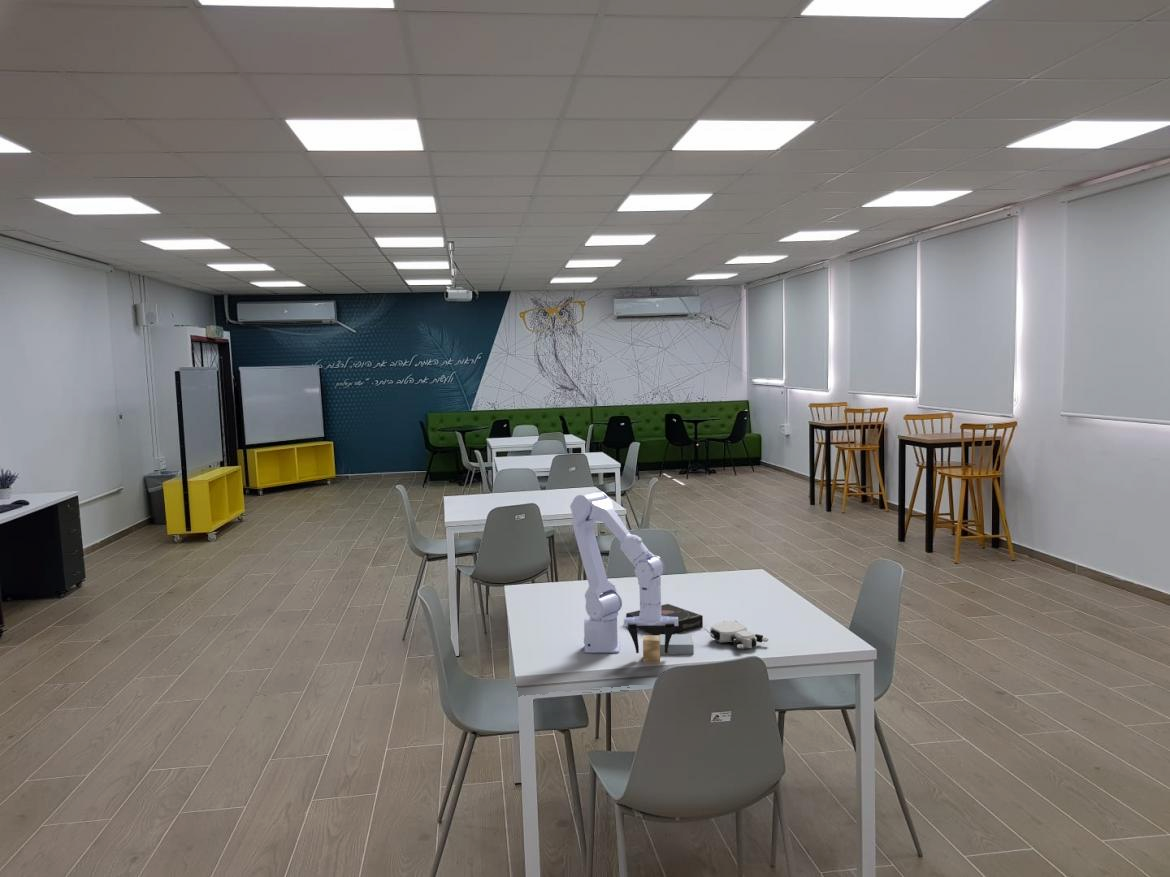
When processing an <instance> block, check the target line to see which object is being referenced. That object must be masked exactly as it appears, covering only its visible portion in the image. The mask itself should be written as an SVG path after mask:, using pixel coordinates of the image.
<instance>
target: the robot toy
mask: <svg viewBox="0 0 1170 877" xmlns="http://www.w3.org/2000/svg"><path fill="white" fill-rule="evenodd" d="M703 629H704V631H706V632H707V633H708V634H709V635H710V637H711V638H712V639H714V640H716V641H717V642H718V643H721V644H724V643H730V642H731V643H733V645H734V647H735V648H736V649H741V650H743V649H744V650H746V649H752V648H755V647H757V642H758V643H763V642H764V643H767V642H768V641H769V638H768V637H764V635H763V634H762V635H761V634H757V633H756V634H754V632H750V631H749V630H748V629H747V627H746V625H744V624H742V623H739V621H738V620H734V621H730V620H729V621H722V622H718V623H716V624H714V625H712V626H711V627H710V629H709V630H708V629H707V628H706V627H704V628H703Z"/></svg>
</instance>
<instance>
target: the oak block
mask: <svg viewBox="0 0 1170 877" xmlns="http://www.w3.org/2000/svg"><path fill="white" fill-rule="evenodd" d="M642 654H643V655H642V661H643V663H645V664H647V663H648V664H650V663H652V664H653V663H655V664H656V663H657V664H658V663H661V651H660V635H652V634H648V635H646V634H645V635H642Z"/></svg>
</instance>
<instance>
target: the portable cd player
mask: <svg viewBox="0 0 1170 877" xmlns="http://www.w3.org/2000/svg"><path fill="white" fill-rule="evenodd" d="M625 614H626V615H625V617H636V616H640V609H638V610H635V611H630V612H626V613H625ZM661 616H668V617H678V626H674V632H673V634H683V633H685V632H690V631H692V630H696V629H701V628H703V627H704V623H703V622H704V621H703V620H704V619H703V618H704V617H703V615H702V614H698V613H696V612H693V611H690V610H687V609H685V608H681V607H678V606H675V605H673V604H670V603H666V604H661ZM637 629H638V630H640V631H642V632H643V633H647V634H648V635H660V634H665V625H653V626H637Z"/></svg>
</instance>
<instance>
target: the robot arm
mask: <svg viewBox="0 0 1170 877" xmlns="http://www.w3.org/2000/svg"><path fill="white" fill-rule="evenodd" d="M569 506H570V511H571V514H572V529H573V533H574V538H575V540H576V544H577V547H578V551H579V555H580V558H581V561H582V564H583V569H584V573H585V575H586V580H587V584H588V588H587V590H586V591H585V594H584V598H585V611H586V613H587V615H588V617H584V622H583V625H584V626H583V631H584V634H583V635H584V637H583V644H584V653H589V654H591V653H592V654H593V653H596V654H597V653H600V654H601V653H604V654H605V653H611V654H612V653H617V654H618V653H619V652H620V645H621V644H620V641H619V640H618V637H619V636H618V616H619V611H621V609H622V607H623V599H622V597H621V595H620V594H619V592H618V591H617V588H616V585H614V584H613V582H610V581H609V580H608V576H607V573H606V569H605V565H604V562H603V559H602V555H601V551H600V548H599V544H598V541H597V537H596V534H595V530H594V526H595V524H596V523H597V521H599V522H602V523H603V524H604V525H605V526H606V527H607V528H608V529H609V531H610V532H611V533H612V534H613V535H614V537H616V538H617V539H618V540H619V542H620V547H619V548H620V550H621V551H622V553H623V554H624V555H625V557H627V559H628V560H629V561H630V563H631V564H632V565H633V567H634V568H635V569H634V574H635V575H634V576H635V577H636V578H637V581H638V585H639V610H640V616H636V617H626V616H625V617H623V627H627V631H628V633H629V634H630V637H631V639H632V641H633V644H634V648H635V653H636V654H639V653H640V650H639V648H640V647H639V646H640V645H639V638H638V630H639V629H637V626H653V625H665V653H668V645H669V642H670V639H671V636H672V634H673V632H674V626H678V617H668V616H661V605H662V582H661V577H662V575H663V574H664V573H665V568H666V567H665V563H664V561H663V559H662V558H661V557H660V556H658V555H656V554H653V553H652V552H651V551H650V550H649V549H648V548H647V546H646V545H645V544H644V543H643V539H642V537H640V536H638V535H636V534H631V533H630V531H629V530H628V528H627V527H626V525H625V523H623V520H621V517H620V516H619V515H618V514H617V512H616V511H615V509H614V507H613V501H612V500H611V499H610V498H609V497H608V495H607V494H606V493H605V492H603V491H601V490H596V491H594V492H590V493H585V494H578V495H576V496H575V497H574V498H573V500H572V502H571V503H570V505H569Z"/></svg>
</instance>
